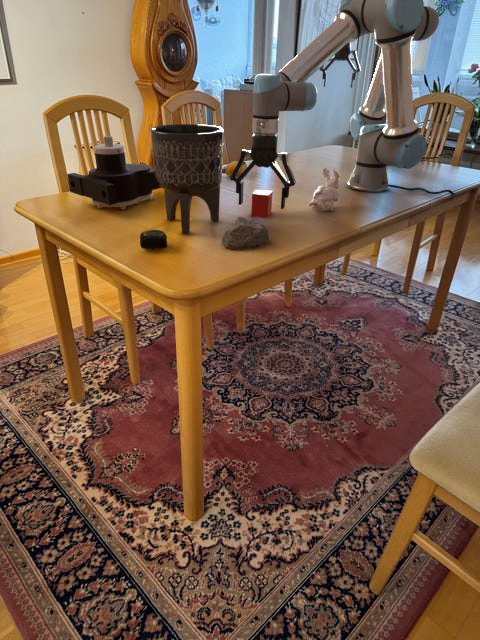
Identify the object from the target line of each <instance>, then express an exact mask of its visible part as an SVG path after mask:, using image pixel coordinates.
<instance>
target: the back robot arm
mask: <svg viewBox="0 0 480 640" xmlns="http://www.w3.org/2000/svg"><path fill="white" fill-rule="evenodd" d="M351 1H353V0H340V1H339V6H338V13H339V12H340V11H341V10H342V9H343V8H345V7H346V6H347V5H348V4H349V3H350V2H351ZM338 13H337V14H338ZM439 22H440V18H439V14H438V11H436V9H435V8H433V7H431V6H427V5H424V12H423V16H422V17H421V22H420V23H419V25H418V26H417V27H416V34H415V35H414V37H413V38H412V39H411V43H412V42H422V41H425V40H427V39H429V38H431V37H432V36H433V35H434V34H435V32H436V31H437V29H438V27H439ZM351 47H352V43H347V44H346V45H345V46H344V47H343V48H342V49H341V50H339V51H338V52H337V53H336V54H335V55H334V56H333V57H332V59H330V60H329V62H328V64H326V63H327V62H326V63H325V64H324V65H323V66H322V67H321V68H320V69H319V71H321V72H322V77H321V78H322V80H323V87H324V88H325V87H326V86H327V77H328V72H327V70H329V68H330V67H331V66H332V65H333V63H334V62H335V61H336V60H337V61H347V63H348V65H349V66H350V68H351V70H352V71H353V72H352V73H351V74H352V75H351V83H350V88H351V89H352V88H353V87H354V86H353V85H354V81H356V79H357V74H358V73H359V72H361V71H362V69H361V65H360V63H359V60H358V56H357V50H356V49H354V50H351ZM350 55H352V56H353V59H354V63H355V65H356V67H355V66H354V64H353V62H352V60H351V59H350ZM366 96H367V97H366V99H365V102H364V104H362V105H360V107H359V109H358V112H355V113H354V114H352V115H351V117H350V122H349V130H350V134H351V137H352V139H354V140H355V141H359V136H360V131H361V128H362V127H363V126H364V125H379V124H387V120H386V109H384V108H385V107H386V106H385V93H384V79H383V65H382V52H381V53H380V56H379V60H378V62H377V65H376V68H375V72H374V74H373V78H372V81H371V84H370V87H369V90H368V92H367V95H366ZM445 155H449V156H450V157H453V154H452V153H451V152H444V153H440V154H436V156H426V157H425V156H423V157H422V159H421V160H433V159H438V158H439V157H441V156H445ZM387 166H389V165H388V164H387Z"/></svg>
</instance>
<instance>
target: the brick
mask: <svg viewBox="0 0 480 640" xmlns="http://www.w3.org/2000/svg"><path fill="white" fill-rule="evenodd" d="M272 207H273V190H265V189H255V190H254V191H253V192H252V194H251V214H250V215H251V217H254V218H264V219H268V218H269V217H270V215H271V214H272V209H273V208H272Z"/></svg>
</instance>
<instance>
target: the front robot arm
mask: <svg viewBox="0 0 480 640" xmlns="http://www.w3.org/2000/svg"><path fill="white" fill-rule="evenodd" d="M424 6H425V1H424V0H353V1H351V2H350V3H349V4H348V5H347V6H346V7H345V8H343V9H342V10H341V11H340V12H339V11H338V12H339V13H337V14H336V15H335V17H334V21H333V22H331V24H330V25H329V26H327V28H326V29H324V30H323V31H322V32H321V33H320V34H319V35H318V36H316V38H314V39H313V40H312V41H311V42H310V43H309V44H308V45H307V46H305V47H304V48H303V49H302V50H301V51H300V52H299V53H298V54H297V55H296V56H295V57H293V59H292V60H290V61H289V62H288V63H287V64H285V66H284V67H283V68H282V69H280V70H279V71H278V72H277V73H276V74H275V73H258V74H256V75H255V77H254V82H253V91H252V94H253V98H252V99H253V101H252V103H253V104H252V106H253V107H252V127H251V128H252V129H251V130H252V133H253V134H252V135H251V149H250V150H247V149H246V148H244V149H242V150H241V151H240V158H239V159H238V161H237V162H238V163H237V165H236V167H235V169H234V171H233V173H232V175H231V176H229V177H230V178H229V180H230V181H231V182H234V183H235V193H236V194H238V205H240V206H241V205H243V203H244V187H245V186H244V183H245V182H244V181H243V179H245V177H246V176H247V175H248V174H249V173H250V171H251V170H253V168H254V167H255V166H256V167H258V168H265V169H267V168H270V169H271V170H272V171H273V172H274V173H275V175H276V176H277V178H278V180H279V181H280V182H281V183H282V185H283V186H282V187H281V199H280V200H281V201H280V209H281V210H284V209H285V207H286V199H288V198H289V196H290V188H291V187H294V186H296V184H297V181H296V178H295V176H294V173H293V170H292V168H291V165H290V163H289V160H288V152H286V151H284V152H278V135H277V134H278V133H279V120H280V112H304V111H305V112H306V111H311V110H312V109H313V108H314V107H315V106H316V103H317V100H318V89H317V86H316V85H315V84H314V83H313V82H307V80H309V79H310V78H311V77H312V76H313V75H315V74H316V72H317V71H319V70H320V68H321V67H322V66H323V65H324V64H325V63H328V62H329V61H331V60H332V59H333V58H334V57H335V54H336V53H337V52H338V51H339V50H341V49H342V48H343V47H344V46H345V45H346V44H347V43H351V44H352V43H354V42H356V41H357V40H358V39H359V38H361V37H363V36H365V35H368V34H374V39H375V45H376V46H377V47H379V48H380V49H381V50H380V51H381V53H382V65H383V79H384V93H385V106H384V107H385V110H386V120H387V124H379V125H364V126H363V127H362V128H361V131H360V136H359V140H358V143H357V150H356V151H357V152H356V159H355V164H354V165H355V166H354V167H353V171H351V172H350V176H349V179H348V182H347V187H348V188H349V189H351V190H354V191H358V192H363V193H364V192H365V193H382V192H386V191H388V189H389V188H394V189H399V190H404V191H423V192H425V193H427V194H430V195H441V194H443V193H449V194H451V195H453V196H454V195H456V194H455V193H454V191H452V190H451V189H443V190H439V191H431V190H428V189H426V188H424V187H412V188H411V187H404V186H400V185H395V184H389V178H388V173H387V172H388V171H387V166H392V167H396V168H397V169H404V170H409V169H412V168H414V167H416V166H417V165H418V164H419V163H420V162H421V161H422V160H423V159H422V157H425V153H426V151H427V147H428V141H427V138H426V136H424V135H423V133H420V127H419V122H417V121H416V120H415V118H414V96H413V91H414V90H413V70H412V69H413V68H412V42H411V39H412V38H413V37H414V35H415V34H416V27H417V26H418V25H419V23H420V22H421V17H422V16H423V12H424ZM331 58H332V59H331ZM325 65H326V64H325ZM249 157H250V158H251V159H252V161H251V162H250V164H249V165H247V168H246V169H245V170H244V172H243V173H242V174H241V175H240V176H239V177H237V175H238V173H239V171H240V169H241V167H242V165H243V163H244V162H246V159H247V158H249ZM277 159H279V160H280V162H281V163H282V166H283V169H284V171H285V173H286V175H285V174H284V173H283V171H282V169H281V168H280V166H279V165H278V163H277V161H276V160H277ZM387 164H388V165H387ZM286 176H287V177H286Z"/></svg>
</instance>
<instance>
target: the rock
mask: <svg viewBox="0 0 480 640" xmlns="http://www.w3.org/2000/svg"><path fill="white" fill-rule="evenodd" d="M269 241H270V233H269V230H268V229H267V228H266V226H265V225H263V224H261V223H259V222H256V221H255V220H252V219H247V218H245V217H241V216H238V217H237V218H236V219H235V221H234V222H233V223H232V224H231V225H229V226H228V227H227V228H226V229H225V231H224V233H223V236H222V239H221V244H222V247H224V248H229V249H231V250H245V249H254V248H257V247H259V246H260V245H264V244H266V242H269Z"/></svg>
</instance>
